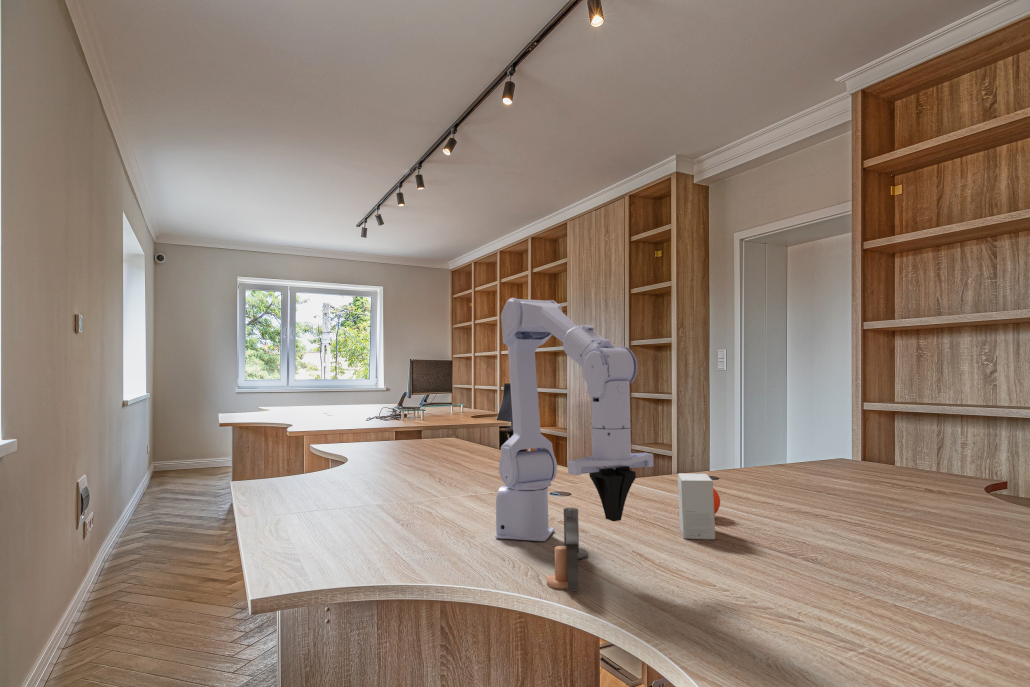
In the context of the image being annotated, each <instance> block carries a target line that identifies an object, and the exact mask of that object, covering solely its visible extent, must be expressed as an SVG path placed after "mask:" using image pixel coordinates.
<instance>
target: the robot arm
mask: <svg viewBox="0 0 1030 687" xmlns="http://www.w3.org/2000/svg"><path fill="white" fill-rule="evenodd" d="M500 320H501V335H502V344H505V345H506V346H507V350H508V351H507V352H508V353H507V354H508V368H509V370H508V371H509V383H510V397H511V398H510V399H511V400H510V401H511V410H512V411H511V415H512V431H513V434H512V435H511V437H510V438H508V439H507V440H506V441H505V442H504V443H503V444H502V445H501V446H500V458H499V459H500V460H499V464H498V472H499V477H500V480H501V482H502V483H503V484H504V485H501V486H499V488H498V490H497V493H496V498H495V518H496V519H495V520H496V522H495V523H496V524H495V525H496V526H495V528H496V529H495V530H496V531H495V532H496V534H495V536H494V537H495V539H504V540H517V541H519V540H520V541H530V542H531V541H535V542H546V541H547V540H548V538H549V537H550V536H551V535H552V534H553V533H554V531H555V527H552V526H551V527H549V493H548V492H549V490H548V487H552V482H553V481H554V480H555V479H556V476H557V472H558V462H557V459H556V457H555V453H554V447H553V443H552V442H551V441H550V440H549V439H548V438H547V437H545V436H544V435H543V434H541V420H540V406H539V395H538V394H539V393H538V380H537V378H538V377H537V363H536V350H537V349H538V347H540V346H542V345H544V344H545V343H546V342H547V341H548V340H549V339H550V338H551V337H552V336H554V337H555V338H556V339H558V340H559V341H561V342H562V348H563V351H564V353H565V354H566V355H567V356H569V358H571V359H572V361H574V362H575V363H576V364H578V366H579V367H581V369H582V374H583V378H584V381H585V382H586V387H587V394H588V396H589V397H591V398H590V399H591V433H592V434H591V441H592V442H591V444H592V445H591V446H592V448H591V449H592V455H590V456H587V457H581V458H577V459H576V458H575V459H570V460H567V474H568V475H573V476H575V477H576V476H581V475H585V474H588V475H589V479H590V480H591V481H592V483H593V484H594V486H595V489H596V491H597V493H598V496H599V499H600V501H601V504H602V508H603V512H604V515H605V516H604V517H605V520H609V521H612V522H618V521H619V522H620V521H622V515H623V512H624V508H625V505H626V504H625V503H626V502H627V501H626V500H627V497H628V494H629V492H630V489H631V487H632V486H633V483H634V482H635V480H636V478H637V476H636V475H637V474H636V471H635V470H631V469H633V468H634V469H635V468H645V467H646V468H651V467H652V468H653V467H654V454H653V453H649V452H637V453H635V452H633V453H632V441H631V440H632V437H631V436H632V435H631V433H632V432H631V431H632V430H631V396H630V395H631V394H630V392H631V389H630V384H631V383H633V382H634V381H635V379H636V377H637V373H638V361H637V360H638V359H637V357H636V355H635V354H634V352H633V351H632V350H631V349H630V347H628V346H619V347H617V346H614V345H613V343H612V342H611V340H610V339H608V338H604V337H603V336H601V335H600V334H598V333H597V331H595V327H594V326H593V325H591V324H581V325H580V324H579V325H577V324H575V323H574V321H572V319H570V317H568V316H567V314H565V312H563V308H562V305H561V304H559V303H557V301H555V300H553V299H549V300H541V299H539V300H538V299H521V298H516V297H510V298H509V299H508V300H507V301H506V302H505V304H504V306H503V309H502V311H501V314H500ZM531 449H532V450H531ZM533 449H535V450H533ZM521 450H526V451H521Z"/></svg>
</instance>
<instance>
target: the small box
mask: <svg viewBox="0 0 1030 687" xmlns="http://www.w3.org/2000/svg"><path fill="white" fill-rule="evenodd" d="M677 484H678V485H677V487H678V489H677V490H678V514H679V528H680V531H681V534H682V536H683V539H685V540H716V523H715V522H716V521H715V515H714V495H713V488H714V480H713V479H712V478H711V477H710V476H709V475H708V474H707V473H687V472H686V473H683V472H681V473H680V472H679V473H677Z"/></svg>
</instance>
